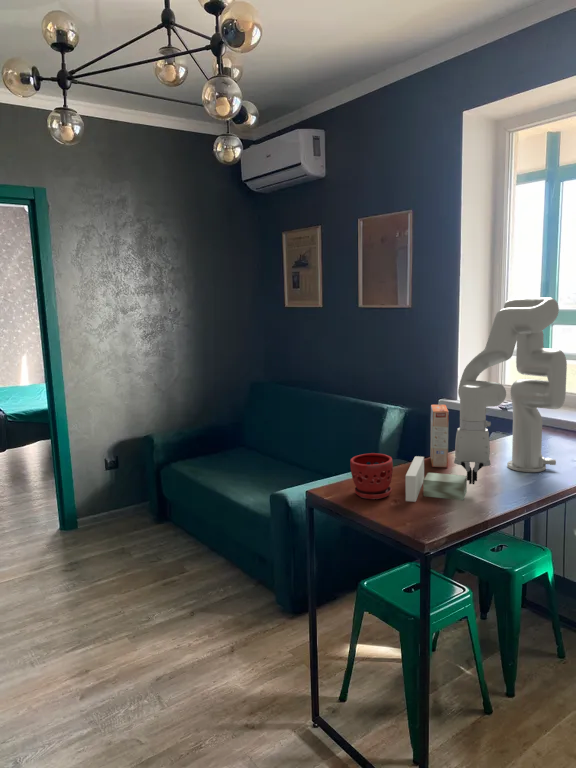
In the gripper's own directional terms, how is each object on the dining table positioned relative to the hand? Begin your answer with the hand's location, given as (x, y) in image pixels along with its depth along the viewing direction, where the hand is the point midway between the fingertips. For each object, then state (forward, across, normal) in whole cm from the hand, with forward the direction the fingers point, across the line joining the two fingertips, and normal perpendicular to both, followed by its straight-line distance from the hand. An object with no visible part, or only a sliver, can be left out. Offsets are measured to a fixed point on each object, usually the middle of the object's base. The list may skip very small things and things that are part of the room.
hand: (471, 482), depth 176 cm
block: (+4, +8, +2) cm, 9 cm away
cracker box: (+4, +12, -33) cm, 36 cm away
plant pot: (+4, +30, +8) cm, 31 cm away
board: (+4, +17, 0) cm, 18 cm away
